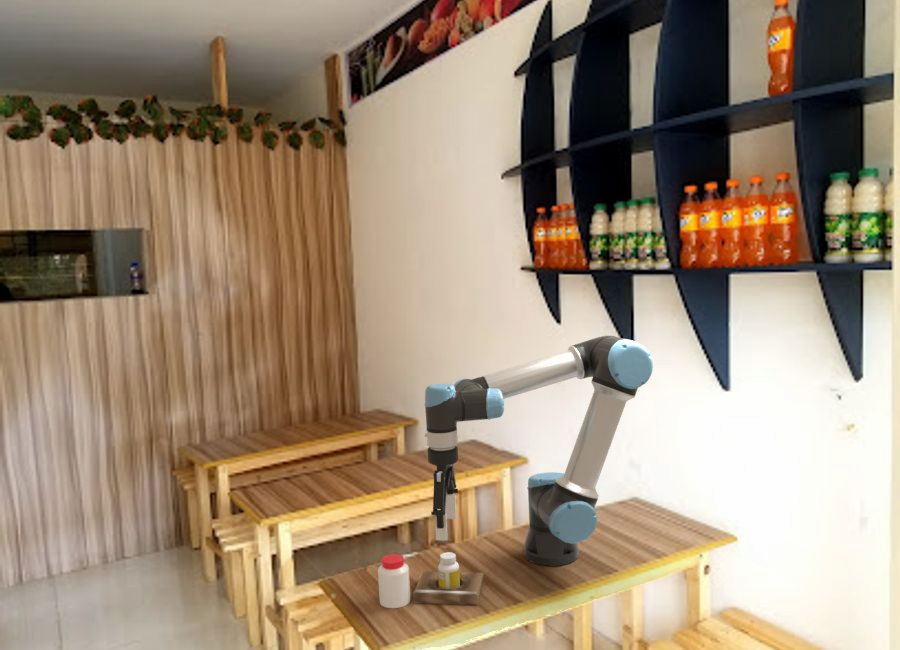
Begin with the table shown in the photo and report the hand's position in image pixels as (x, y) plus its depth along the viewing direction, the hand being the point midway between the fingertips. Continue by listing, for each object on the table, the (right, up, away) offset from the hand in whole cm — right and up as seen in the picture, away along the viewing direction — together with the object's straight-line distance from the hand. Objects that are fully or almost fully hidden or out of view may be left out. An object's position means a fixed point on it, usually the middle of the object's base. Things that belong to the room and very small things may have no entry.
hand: (446, 528), depth 179 cm
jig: (+1, -17, +2) cm, 17 cm away
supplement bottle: (+1, -17, +2) cm, 17 cm away
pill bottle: (-13, -18, -1) cm, 22 cm away
